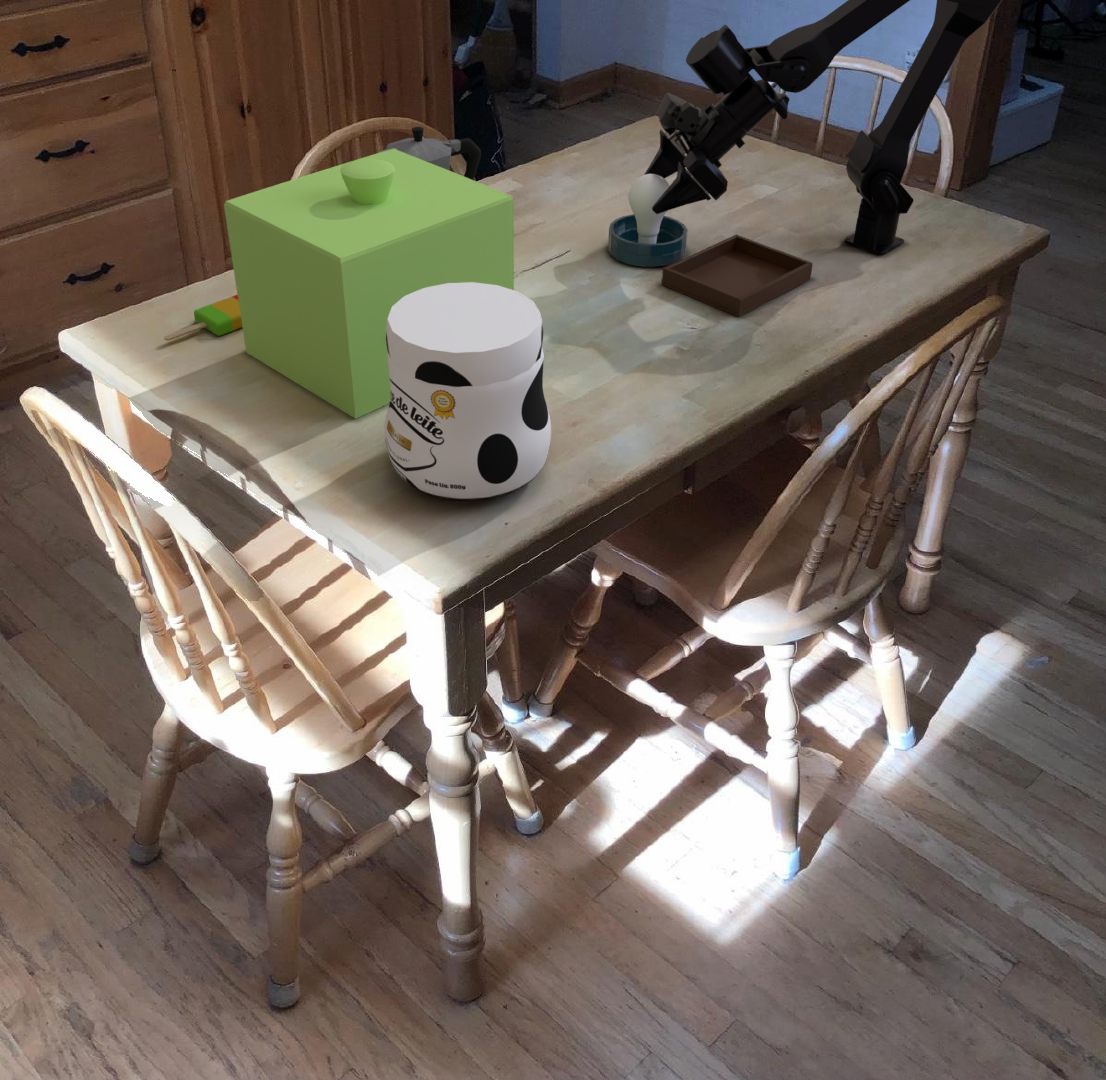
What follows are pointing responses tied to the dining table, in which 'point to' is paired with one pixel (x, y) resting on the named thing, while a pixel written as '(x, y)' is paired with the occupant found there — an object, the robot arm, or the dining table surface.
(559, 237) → the dining table surface
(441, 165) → the coffeepot
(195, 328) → the popsicle
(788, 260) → the tray
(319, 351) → the canister
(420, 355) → the milk container
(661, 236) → the bowl
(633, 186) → the lightbulb
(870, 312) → the dining table surface
